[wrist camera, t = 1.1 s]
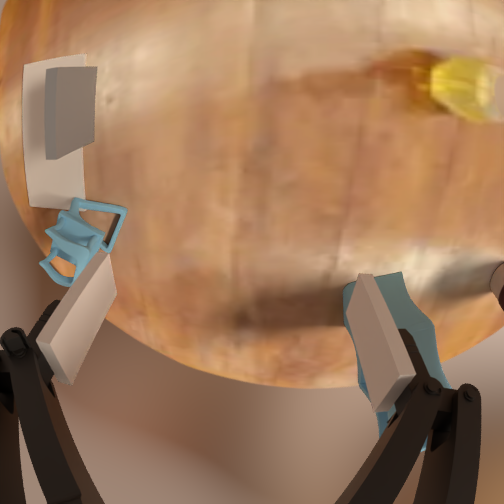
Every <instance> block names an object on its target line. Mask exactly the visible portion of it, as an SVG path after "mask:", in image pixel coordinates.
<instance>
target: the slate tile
mask: <svg viewBox="0 0 504 504" xmlns="http://www.w3.org/2000/svg"><path fill="white" fill-rule="evenodd" d="M96 78H97V67H55V68H50V69H46V78H45V102H44V129H45V154H46V160H57V159H59V158H61V157H63V156H65V155H67V154H69V153H71V152H73V151H75V150H77V149H79V148H81V147H83V146H86V145H88V144H90V143H92V142H94V117H95V93H96Z"/></svg>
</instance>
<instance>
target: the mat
mask: <svg viewBox="0 0 504 504" xmlns="http://www.w3.org/2000/svg"><path fill="white" fill-rule="evenodd" d="M86 57H87V53H84V54H77V55H70V56H64V57H58V58H53V59H48V60H43V61H38V62H34V63H30V64H25V65H24V72H23V93H22V128H23V149H24V162H25V173H26V182H27V190H28V197H29V204H30V206H31V207H43V208H54V209H65V210H69V209H70V206H71V202H72V200H73V199H74V198H75V197H76V198H80V199H84V200H86V198H85V185H84V167H83V147H81V148H79V149H77V150H75V151H73V152H71V153H69V154H67V155H65V156H63V157H61V158H59V159H57V160H46V154H45V129H44V102H45V78H46V69H50V68H55V67H86ZM86 210H87V209H82V208H79V211H86Z"/></svg>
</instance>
